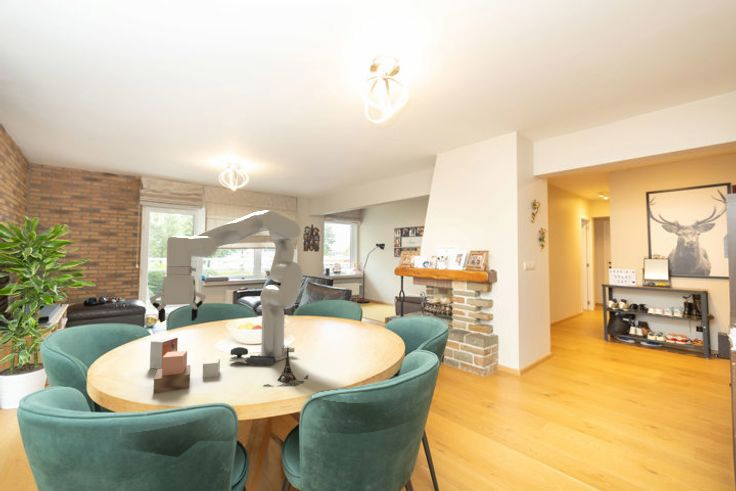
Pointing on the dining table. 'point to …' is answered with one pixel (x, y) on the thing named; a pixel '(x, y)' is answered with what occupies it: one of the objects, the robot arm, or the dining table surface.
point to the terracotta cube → (174, 363)
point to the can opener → (251, 358)
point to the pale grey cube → (211, 367)
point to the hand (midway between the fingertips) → (178, 320)
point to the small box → (161, 350)
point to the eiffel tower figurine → (288, 375)
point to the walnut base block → (171, 381)
